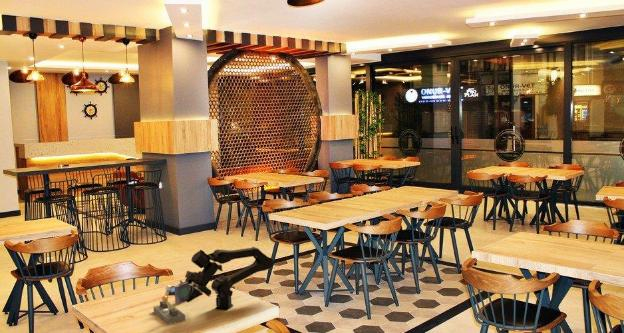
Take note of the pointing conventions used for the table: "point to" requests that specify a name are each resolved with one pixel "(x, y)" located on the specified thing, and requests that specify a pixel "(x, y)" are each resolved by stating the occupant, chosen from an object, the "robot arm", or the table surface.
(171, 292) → the camera
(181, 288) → the flask
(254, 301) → the table surface
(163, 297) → the brass lever
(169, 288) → the steel lever
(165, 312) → the switch panel
